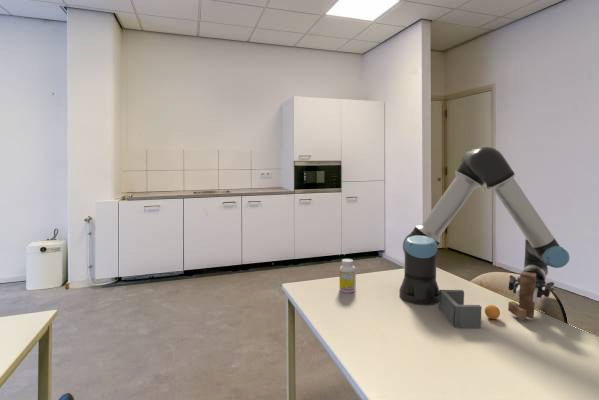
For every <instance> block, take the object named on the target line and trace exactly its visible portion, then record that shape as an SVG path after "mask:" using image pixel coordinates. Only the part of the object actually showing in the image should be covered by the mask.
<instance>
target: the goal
mask: <svg viewBox="0 0 599 400" xmlns="http://www.w3.org/2000/svg"><path fill="white" fill-rule="evenodd" d="M464 302H465V291H464V290H463V289H439V302H438V309H439V311H441V313H442V314H443V315H444V316H445V318H446V319H447V320H448V322H449V323H450V324H451V325H452V326H453V328H456V329H458V328H459V329H481V328H482V327H481V326H482V306H481V305H480V304H464Z"/></svg>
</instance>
